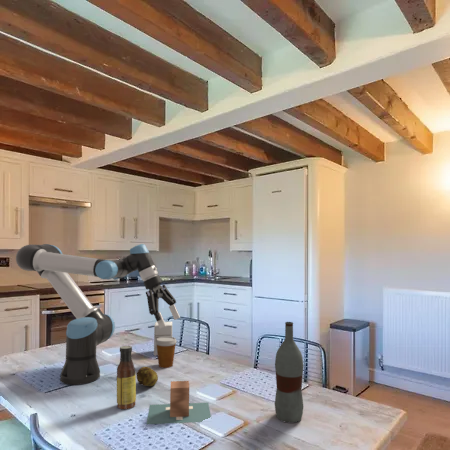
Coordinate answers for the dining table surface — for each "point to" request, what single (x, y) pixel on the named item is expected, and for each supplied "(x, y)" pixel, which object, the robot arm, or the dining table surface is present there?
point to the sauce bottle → (126, 379)
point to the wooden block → (179, 399)
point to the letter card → (162, 416)
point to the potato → (147, 376)
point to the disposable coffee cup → (165, 351)
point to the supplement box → (161, 333)
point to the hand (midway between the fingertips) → (170, 322)
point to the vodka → (289, 379)
